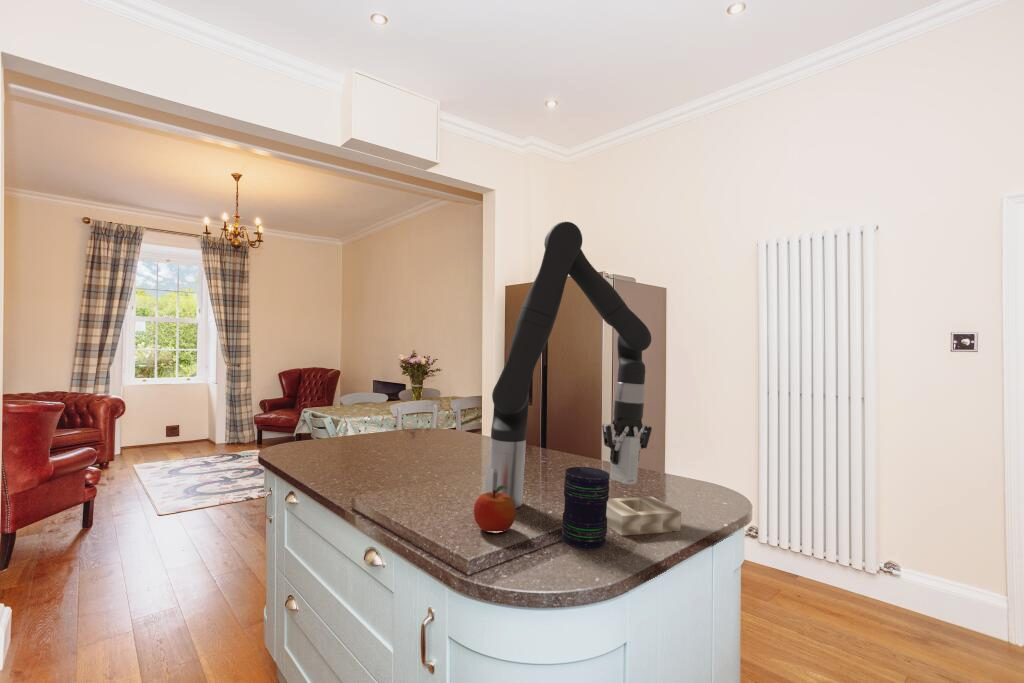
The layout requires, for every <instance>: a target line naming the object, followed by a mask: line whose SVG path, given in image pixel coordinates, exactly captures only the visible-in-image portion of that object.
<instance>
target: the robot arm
mask: <svg viewBox="0 0 1024 683" xmlns="http://www.w3.org/2000/svg"><path fill="white" fill-rule="evenodd" d="M582 245H583V234H582V232H581V230H580V228H579V227H578V225H576V224H575V223H573V222H571V221H561V222H559V223H556V224H555V225H553V226H552V227H551V228H550V229H549V231H548V232H547V233H546V236H545V237H544V249H545V250H544V253H543V257H542V261H541V264H540V268H539V270H538V273H537V275H536V277H535V279H534V281H533V282H532V285H531V287H530V289H529V290H528V292H527V294H526V297H525V299H524V302H523V304H522V306H521V310H520V313H519V315H518V319H517V321H516V324H515V325H516V326H515V329H514V332H513V335H512V336H513V337H512V340H511V345H510V349H509V353H508V357H507V359H506V362H505V364H504V366H503V369H502V370H501V374H500V376H499V378H498V379H497V382H496V384H495V385H494V387H493V389H492V392H491V396H492V397H491V398H492V403H493V415H492V421H491V422H492V423H491V428H490V445H489V446H490V447H489V448H490V449H489V462H488V464H487V465H486V475H485V476H486V477H485V493H489V492H493V490H496V487H498V486H500V485H501V486H507V487H508V488H509V489H508V488H504V489H502V490H500V491H499V493H504V494H506V495H508V496H510V497H511V499H512V500H513V501H514V504H515V508H516V509H518V507H519V508H521V507H522V506H523V497H524V496H523V495H524V479H525V478H524V477H525V460H526V456H525V455H526V446H527V443H526V442H527V428H528V417H529V402H530V401H529V398H530V397H529V396H530V392H529V391H530V386H531V382H532V378H533V376H534V375H533V374H534V371H535V368H536V366H537V363H538V361H539V359H540V357H541V355H542V354H543V351H544V349H545V347H546V346H547V343H548V341H549V337H550V336H551V333H552V332H553V331H552V330H553V328H554V324H555V322H556V319H557V316H558V312H559V309H560V307H561V302H562V298H563V294H564V289H565V286H566V282H567V279H568V278H569V276H570V278H571V279H572V280H573V281H574V282H575V283H576V285H577V286H578V287H579V288H580V290H581V291H582V292H583V294H584V295H585V296H586V298H587V299H588V300H589V302H590V303H591V305H592V306H593V308H594V309H595V310H596V311H597V313H598V315H600V317H601V318H602V319H603V321H604V322H605V324H607V325H608V326H610V327H612V328H613V329H614V330H615V331H616V332H617V334H618V336H617V359H618V370H617V380H616V388H615V394H614V405H613V406H614V408H613V421H612V423H609V424H606V423H603V424H602V426H601V428H602V435H603V436H602V437H603V445H604V446H605V447H607V448H609V449H610V453H609V454H610V455H609V460H610V463H611V462H612V464H614V465H617V464H618V457H619V451H618V449H619V447H620V445H621V443H622V442H623V440H624V438H625V436H632V437H638V438H640V444H639V454H640V451H641V450H642V449H647V447H648V445H649V441H650V438H651V434H652V430H653V428H652V426H650V425H647V424H643V422H642V419H643V418H644V408H645V392H646V391H645V382H646V365H645V362H644V361H643V351H646V350H647V349H648V348H649V347H650V345H651V343H652V335H651V331H650V330H649V328H648V326H647V325H646V324H645V323H644V322H643V321H642V320H641V319H640V318H639V317H638V316H637V314H635V313H634V311H632V310H631V309H630V308H629V307H628V305H627V304H626V302H625V301H624V300H623V298H622V297H621V296H620V294H619V293H618V292H617V290H616V289H615V288H614V287H613V285H611V283H610V282H609V281H608V280H607V279H606V278H604V277H603V276H602V275H601V273H600V272H598V271H597V269H595V268H594V266H593V265H592V264H591V263H590V261H589V260H588V258H587V257H586V255H585V254H584V252H583V250H582V247H583V246H582ZM613 430H614V431H613ZM612 433H614V435H613V434H612ZM616 435H617V436H619V438H616ZM639 461H640V458H639V459H638V462H639Z"/></svg>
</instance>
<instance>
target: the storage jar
mask: <svg viewBox="0 0 1024 683" xmlns="http://www.w3.org/2000/svg"><path fill="white" fill-rule="evenodd" d="M564 474H565V476H564V483H563V484H564V485H563V488H564V489H563V496H564V507H563V508H564V510H563V513H562V520H561V532H562V534H561V541H562V543H564V544H565V545H567V546H569V547H572V548H575V549H580V550H592V551H593V550H598V549H599V550H600V549H602V548H604V547H605V546H606V543H607V541H606V537H607V532H608V526H607V517H606V511H607V501H608V499H610V481H609V480H610V472H608V471H606V470H603V469H599V468H596V467H588V466H587V467H585V466H574V467H568V468H566V469H565V473H564Z"/></svg>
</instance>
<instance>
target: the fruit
mask: <svg viewBox="0 0 1024 683" xmlns="http://www.w3.org/2000/svg"><path fill="white" fill-rule="evenodd" d="M504 488H508V487H507V486H501V485H500V486H498V487H496V490H493V492H489V493H481V495H479V496H478V497H477V499H476V500H475V502H474V505H473V517H474V520H475V522H476V523H475V524H477V526H478V527H479V529H481V530H482V531H484V530H485V531H504V530H507V529H508V530H509V529H510V528H511V527H512V526H513V524H514V522H515V520H516V519H515V518H516V513H517V512H516V511H517V510H516V509H517V508H515V504H514V501H513V500H512V499H511V497H510V496H508V495H506V494H504V493H499V491H500V490H502V489H504ZM508 489H509V488H508ZM508 530H507V531H508ZM485 531H484V532H485Z"/></svg>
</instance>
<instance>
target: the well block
mask: <svg viewBox="0 0 1024 683" xmlns="http://www.w3.org/2000/svg"><path fill="white" fill-rule="evenodd" d="M606 517H607V527H608V528H610V529H612V530H613V531H614V532H616V533H617V534H618V535H619V536H633V535H634V536H635V535H644V534H646V535H647V534H657V533H658V534H660V533H661V534H662V533H673V532H672V531H675V532H681V522H682V511H680V510H678V509H676V508H675V507H673V506H671V505H669V504H667V503H665V502H663V501H661V500H660V499H657V498H655V497H653V496H637V497H616V498H614V497H613V498H608V501H607V511H606Z"/></svg>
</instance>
